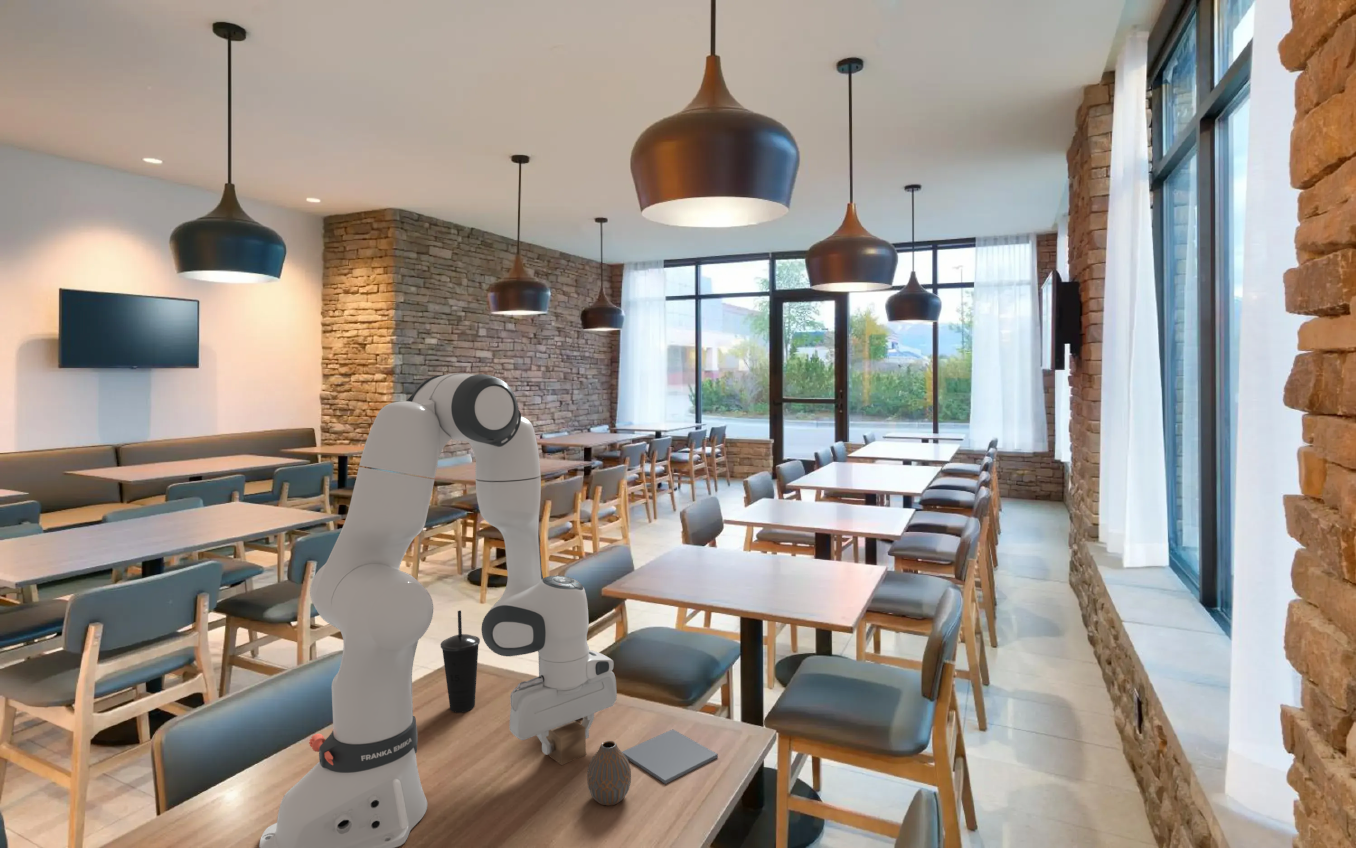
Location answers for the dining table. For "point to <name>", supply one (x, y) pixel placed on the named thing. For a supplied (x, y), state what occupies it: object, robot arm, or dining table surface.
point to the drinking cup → (461, 669)
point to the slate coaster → (669, 755)
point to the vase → (609, 774)
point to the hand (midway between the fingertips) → (565, 745)
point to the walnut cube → (568, 742)
